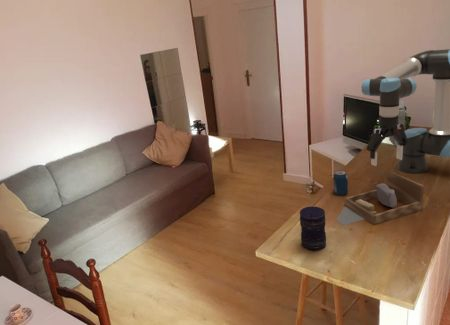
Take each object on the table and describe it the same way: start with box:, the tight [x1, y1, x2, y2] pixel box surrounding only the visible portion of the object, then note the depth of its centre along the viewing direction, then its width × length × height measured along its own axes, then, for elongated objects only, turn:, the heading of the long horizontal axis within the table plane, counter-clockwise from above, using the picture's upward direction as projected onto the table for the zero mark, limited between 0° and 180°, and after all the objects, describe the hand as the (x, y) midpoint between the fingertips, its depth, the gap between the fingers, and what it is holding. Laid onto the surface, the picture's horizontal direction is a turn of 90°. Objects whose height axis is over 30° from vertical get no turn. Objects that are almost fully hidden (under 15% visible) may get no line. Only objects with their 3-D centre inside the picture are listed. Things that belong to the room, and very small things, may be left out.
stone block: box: [375, 182, 398, 209], centre depth 159 cm, size 12×5×10 cm, turn 5°
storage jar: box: [299, 206, 327, 252], centre depth 137 cm, size 10×10×15 cm
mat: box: [336, 205, 366, 226], centre depth 158 cm, size 11×16×1 cm
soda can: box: [332, 169, 349, 197], centre depth 176 cm, size 7×7×12 cm
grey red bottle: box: [388, 99, 406, 147], centre depth 234 cm, size 19×6×30 cm, turn 168°
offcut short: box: [355, 199, 375, 212], centre depth 156 cm, size 3×8×2 cm, turn 25°
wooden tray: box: [343, 170, 425, 226], centre depth 158 cm, size 26×20×12 cm
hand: (386, 162), depth 153 cm, fingers open, 13 cm apart
